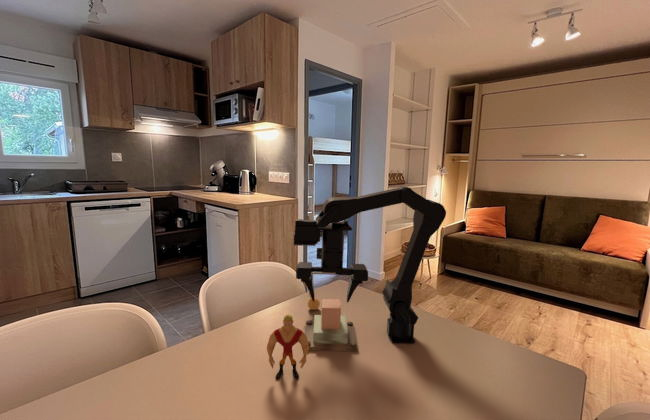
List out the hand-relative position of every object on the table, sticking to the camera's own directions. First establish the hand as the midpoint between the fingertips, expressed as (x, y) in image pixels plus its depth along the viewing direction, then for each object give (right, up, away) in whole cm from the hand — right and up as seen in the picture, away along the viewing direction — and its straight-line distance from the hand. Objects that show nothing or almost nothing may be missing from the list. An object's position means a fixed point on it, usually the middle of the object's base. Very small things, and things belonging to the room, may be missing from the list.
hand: (330, 301), depth 81 cm
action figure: (-10, -13, -13) cm, 21 cm away
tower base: (0, -11, +2) cm, 11 cm away
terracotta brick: (0, -7, +1) cm, 7 cm away
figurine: (-6, -8, +17) cm, 19 cm away
